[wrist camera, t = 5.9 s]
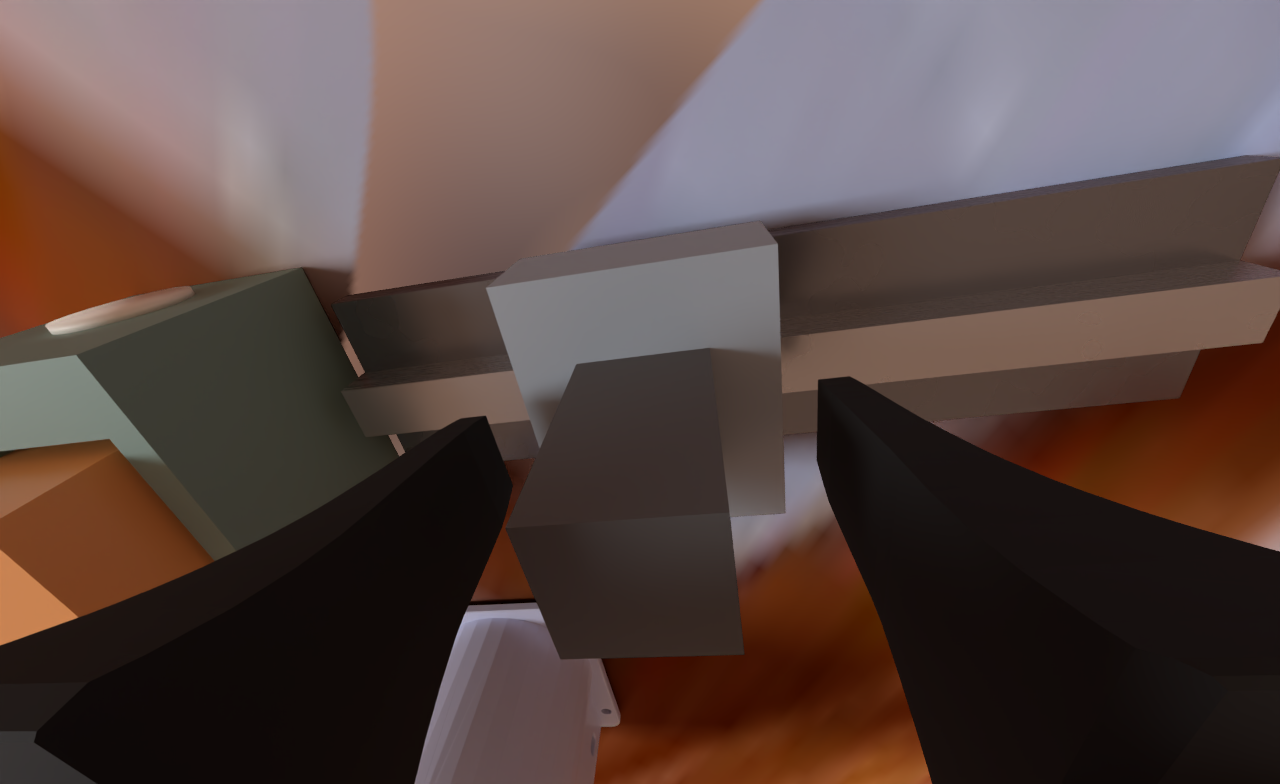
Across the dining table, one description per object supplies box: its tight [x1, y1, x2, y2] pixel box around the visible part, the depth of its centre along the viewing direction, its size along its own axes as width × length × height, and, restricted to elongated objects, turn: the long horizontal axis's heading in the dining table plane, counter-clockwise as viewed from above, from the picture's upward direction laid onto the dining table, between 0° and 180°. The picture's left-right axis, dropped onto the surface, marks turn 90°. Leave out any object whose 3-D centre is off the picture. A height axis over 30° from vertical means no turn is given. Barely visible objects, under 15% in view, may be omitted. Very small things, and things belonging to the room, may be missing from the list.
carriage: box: [486, 221, 785, 659], centre depth 10 cm, size 7×6×7 cm
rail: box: [331, 155, 1280, 461], centre depth 13 cm, size 6×23×2 cm, turn 100°
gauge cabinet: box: [0, 267, 399, 561], centre depth 14 cm, size 8×6×6 cm
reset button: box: [0, 439, 214, 645], centre depth 11 cm, size 4×4×4 cm
